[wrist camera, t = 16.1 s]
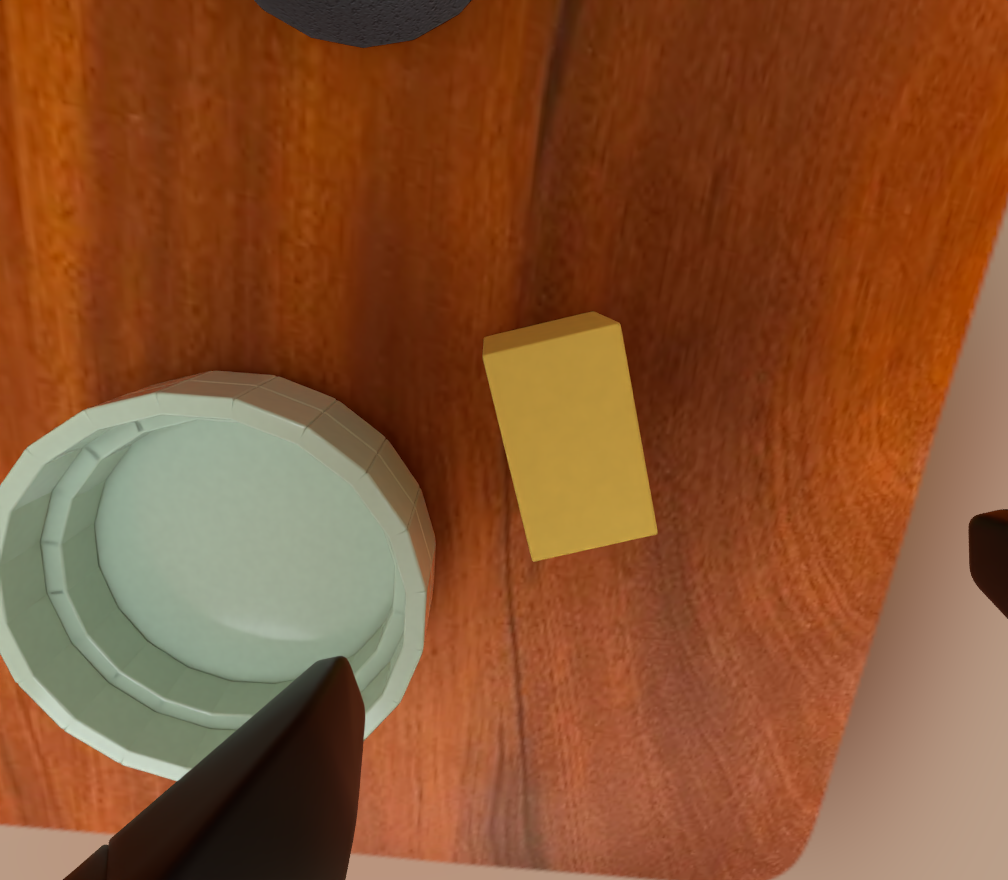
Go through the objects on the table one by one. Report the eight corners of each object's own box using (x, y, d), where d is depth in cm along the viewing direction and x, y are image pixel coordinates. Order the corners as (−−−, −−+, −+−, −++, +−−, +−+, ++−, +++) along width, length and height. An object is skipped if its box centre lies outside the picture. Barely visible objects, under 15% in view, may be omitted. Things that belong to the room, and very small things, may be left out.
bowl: (474, 654, 23) (471, 739, 19) (158, 723, 23) (88, 820, 19) (380, 328, 19) (351, 344, 15) (13, 416, 20) (-107, 455, 16)
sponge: (627, 485, 21) (658, 534, 17) (524, 508, 21) (532, 562, 17) (594, 310, 19) (620, 322, 16) (482, 337, 20) (481, 355, 16)
